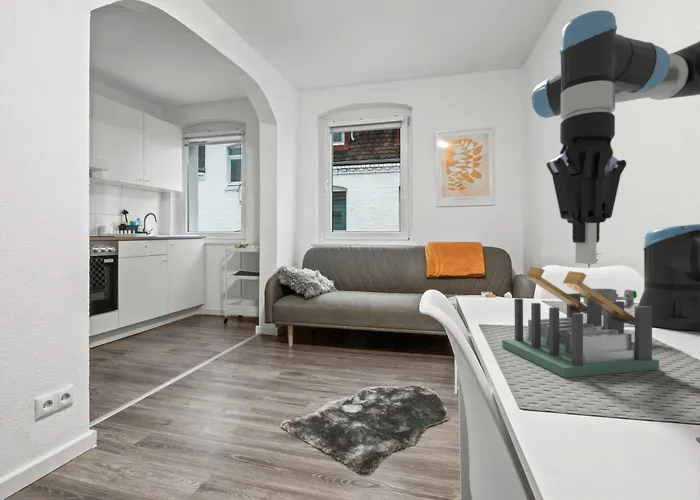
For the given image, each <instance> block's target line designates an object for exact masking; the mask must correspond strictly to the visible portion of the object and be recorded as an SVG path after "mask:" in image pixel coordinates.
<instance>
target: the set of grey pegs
mask: <svg viewBox="0 0 700 500" xmlns="http://www.w3.org/2000/svg"><path fill="white" fill-rule="evenodd" d="M567 294H568V295H570V296H571V297H573V298H574V299H576V300H577V301H579V302H580V303H581V297H580V294H579V293H578V292H576V293H572V292H571V293H567ZM611 302H612V303H614V304H615V305H617V306H618V307H620V308H621V309H623V310H624V311H625V308H624V303H625V301H624V300H616V301H611ZM541 305H542V304H541V302H540V303H539V302H531V307H530V309H531V315H530V316H531V319H530V320H531V333H532V347H533V348H541V319H542V318H541V316H542V313H541V312H542V311H541V307H542V306H541ZM586 306H587V313H586V323H592V324H594V326H603V323H602V322H603V321H602V320H603V319H602V318H603V315H602V308H601V307H599V306H598V305H596V304H595V303H593V302H592V301H590V300H589V299H587V305H586ZM548 312H549V313H548V314H549V315H548V319H549V354H550V355H552V356H559V318H560V307H558V306H557V307H556V306H554V307H548ZM567 317H570V318H572V364H573V365H575V366H581V365H583V323H584V314H583V313H582V312H578V311H575V310H574V308H573V307H571V306H570V305H568V304H567V303H566V318H567ZM634 317H635V325H634V350H635V359H636V360H651V359H652V358H653V326H652V307H650V306H639V305H638V306H634ZM611 329H615V330H618V334H619V333H625V332H624V331H625V323H624V322H620V321H618V320H617V318H616V317H614V316H613V315H611V314H610V313H608V330H611ZM523 338H524V299H523V298H514V339H515V340H517V341H520V340H523Z"/></svg>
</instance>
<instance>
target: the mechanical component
mask: <svg viewBox="0 0 700 500" xmlns="http://www.w3.org/2000/svg"><path fill="white" fill-rule="evenodd" d="M591 289H592V290H594V291H595V292H597V293H599V294H600V295H602V296H603V297H605V298H606V299H608V300H609V301H624V309H630V308H632V307H633V306H634V302H635V301H634V300H635V299H637V297H638V296H637V295H638V294H637V291H636V290H632V289H625V290H624V292H623V296H619V294H618V293H617V289H613V288H591ZM581 298H583V304H584V305H585V306H587V298H585V297H584V296H582V295H581V294H580V299H581ZM602 318H603V319H602V320H603V321H602V322H603V323H602V326H603V327H605V330H608V312H607V311H605V310H604V309H602Z"/></svg>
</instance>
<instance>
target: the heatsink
mask: <svg viewBox="0 0 700 500" xmlns="http://www.w3.org/2000/svg"><path fill="white" fill-rule="evenodd" d="M525 338H526V340H529V341H531V342H532V333H531V319H528V320H527V331H526V332H525ZM541 346H543V347H546V348H548V349H549V318H541ZM559 353H560V354H563V355H565V356H568V357H570V358H572V318H570V317H567V316H566V317H559ZM625 360H635V349H632V334H631V333H630V332H624V333H619V334H618V330H615V329H611V330H605V327H603V325H602V326H594V324H592V323H587V322H585V323H584V322H583V363H585V364H588V363H601V362H613V361H625Z"/></svg>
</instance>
